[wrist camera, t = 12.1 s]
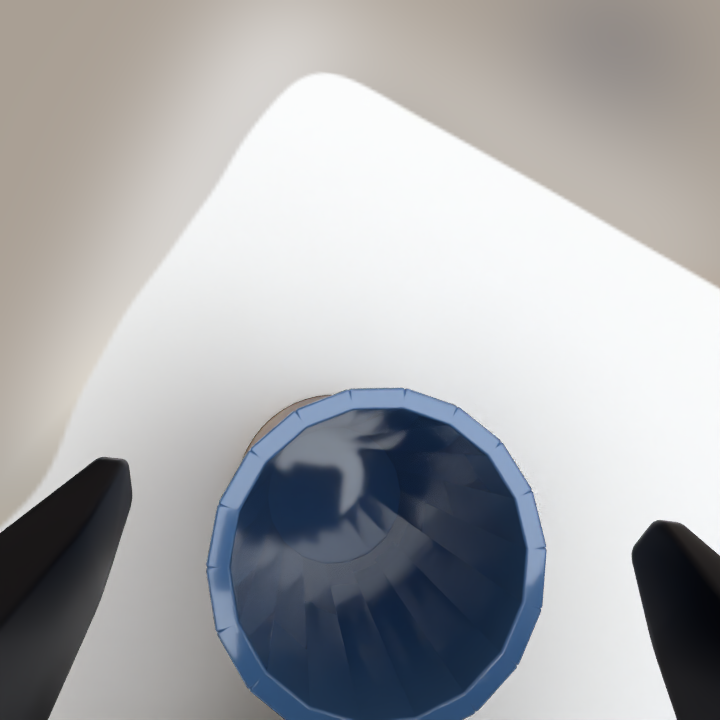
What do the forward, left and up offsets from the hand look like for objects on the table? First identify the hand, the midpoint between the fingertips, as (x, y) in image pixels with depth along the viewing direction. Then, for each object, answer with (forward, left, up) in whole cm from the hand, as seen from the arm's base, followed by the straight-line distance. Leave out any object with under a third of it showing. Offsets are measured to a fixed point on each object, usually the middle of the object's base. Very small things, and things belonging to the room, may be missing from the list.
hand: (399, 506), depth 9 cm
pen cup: (-1, -1, -13) cm, 13 cm away
